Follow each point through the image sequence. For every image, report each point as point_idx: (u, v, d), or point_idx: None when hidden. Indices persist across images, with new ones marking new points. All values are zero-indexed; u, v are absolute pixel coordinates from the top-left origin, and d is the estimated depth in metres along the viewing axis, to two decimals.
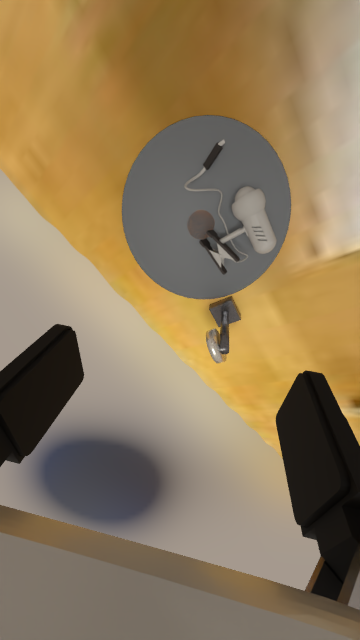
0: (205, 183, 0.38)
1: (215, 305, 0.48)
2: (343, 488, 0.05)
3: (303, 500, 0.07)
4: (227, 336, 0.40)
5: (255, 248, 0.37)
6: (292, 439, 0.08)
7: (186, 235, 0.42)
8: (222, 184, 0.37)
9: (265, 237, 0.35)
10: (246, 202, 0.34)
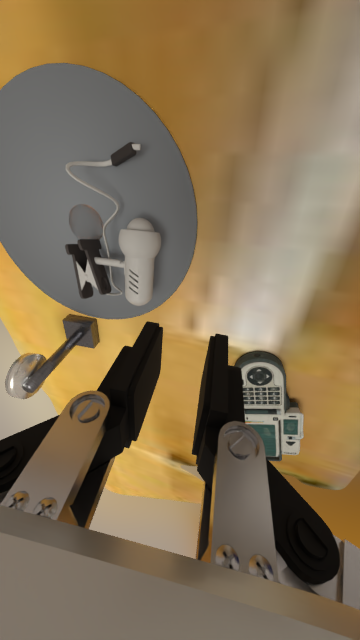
0: (107, 180, 0.27)
1: (72, 320, 0.38)
2: (205, 411, 0.07)
3: (195, 434, 0.08)
4: (49, 370, 0.32)
5: (125, 293, 0.30)
6: (201, 391, 0.09)
7: (64, 224, 0.31)
8: (127, 196, 0.28)
9: (137, 290, 0.28)
10: (131, 239, 0.25)
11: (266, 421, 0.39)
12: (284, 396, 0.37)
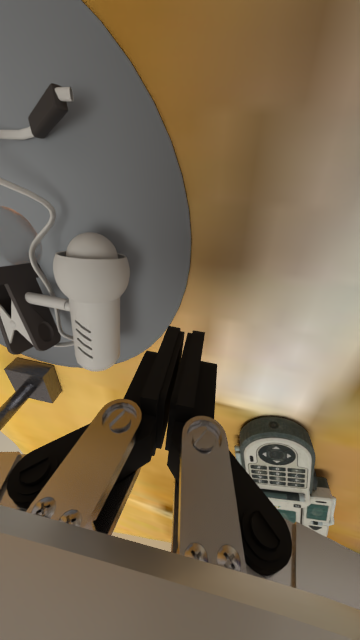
0: (33, 164, 0.16)
1: (18, 368, 0.27)
2: (173, 406, 0.07)
3: None
4: None
5: (75, 352, 0.18)
6: None
7: None
8: (70, 193, 0.16)
9: (91, 352, 0.17)
10: (70, 275, 0.14)
11: (283, 506, 0.28)
12: (311, 478, 0.26)
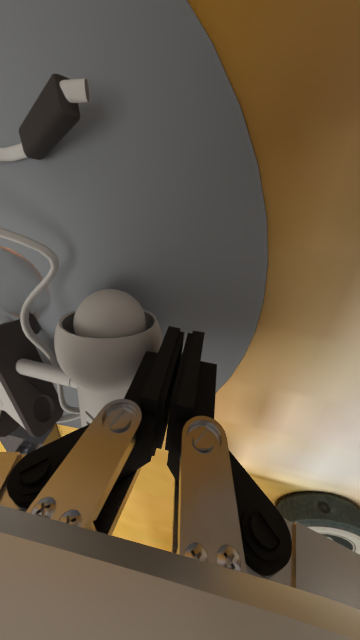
0: (44, 193, 0.11)
1: None
2: (173, 405, 0.07)
3: None
4: None
5: None
6: None
7: None
8: (95, 234, 0.11)
9: None
10: (80, 361, 0.09)
11: None
12: None
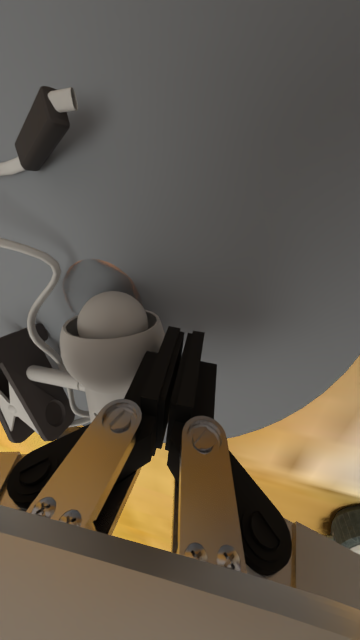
0: (163, 207, 0.10)
1: None
2: (173, 406, 0.07)
3: None
4: None
5: None
6: None
7: (54, 296, 0.14)
8: (210, 248, 0.11)
9: None
10: (84, 363, 0.09)
11: None
12: None
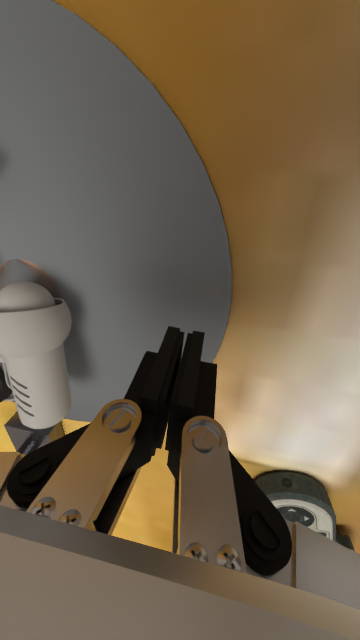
0: (60, 219, 0.14)
1: (20, 423, 0.24)
2: (173, 406, 0.07)
3: None
4: None
5: None
6: None
7: None
8: (99, 249, 0.15)
9: (31, 409, 0.15)
10: None
11: None
12: None
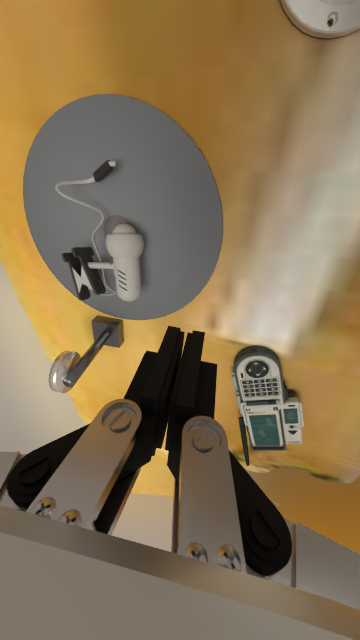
0: (142, 193, 0.30)
1: (100, 321, 0.41)
2: (173, 406, 0.07)
3: None
4: (84, 366, 0.34)
5: None
6: None
7: (99, 233, 0.34)
8: (159, 208, 0.31)
9: (126, 287, 0.32)
10: (116, 242, 0.29)
11: (267, 411, 0.42)
12: (282, 386, 0.40)
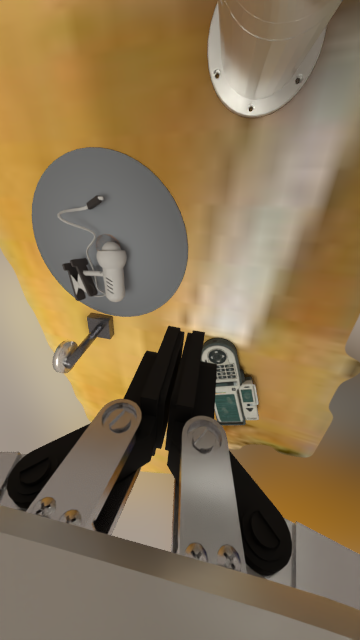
0: (124, 218, 0.39)
1: (94, 317, 0.50)
2: (173, 406, 0.07)
3: None
4: (80, 353, 0.43)
5: (105, 294, 0.42)
6: None
7: (92, 247, 0.43)
8: (138, 229, 0.40)
9: (113, 290, 0.41)
10: (104, 257, 0.38)
11: (227, 391, 0.51)
12: (238, 371, 0.49)
